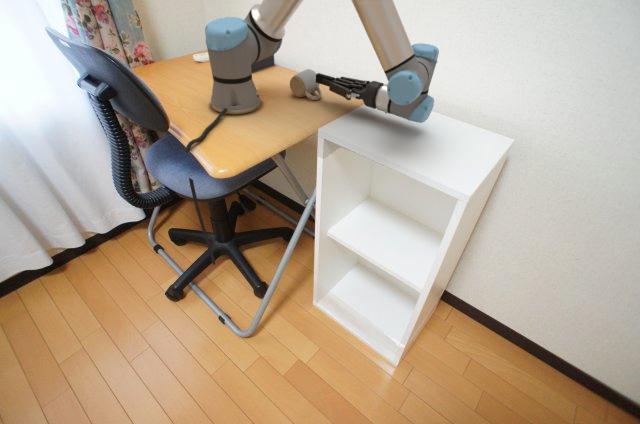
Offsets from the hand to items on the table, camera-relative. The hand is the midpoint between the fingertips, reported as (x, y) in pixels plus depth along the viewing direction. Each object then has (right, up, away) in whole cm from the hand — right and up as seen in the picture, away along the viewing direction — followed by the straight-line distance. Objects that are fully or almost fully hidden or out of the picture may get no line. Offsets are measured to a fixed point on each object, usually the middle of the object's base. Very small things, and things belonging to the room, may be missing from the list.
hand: (317, 77), depth 102 cm
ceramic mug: (-4, -4, +6) cm, 8 cm away
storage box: (-28, +17, +28) cm, 43 cm away
